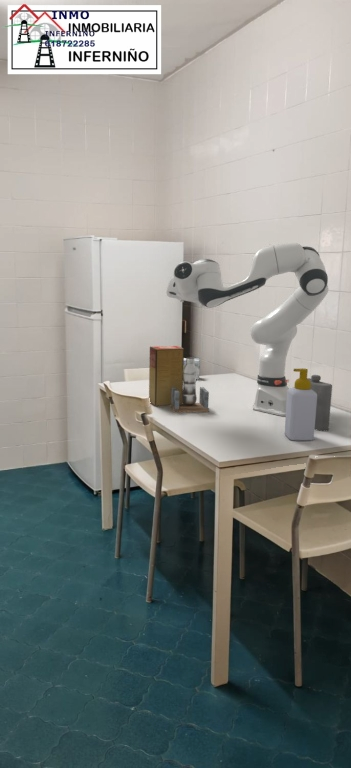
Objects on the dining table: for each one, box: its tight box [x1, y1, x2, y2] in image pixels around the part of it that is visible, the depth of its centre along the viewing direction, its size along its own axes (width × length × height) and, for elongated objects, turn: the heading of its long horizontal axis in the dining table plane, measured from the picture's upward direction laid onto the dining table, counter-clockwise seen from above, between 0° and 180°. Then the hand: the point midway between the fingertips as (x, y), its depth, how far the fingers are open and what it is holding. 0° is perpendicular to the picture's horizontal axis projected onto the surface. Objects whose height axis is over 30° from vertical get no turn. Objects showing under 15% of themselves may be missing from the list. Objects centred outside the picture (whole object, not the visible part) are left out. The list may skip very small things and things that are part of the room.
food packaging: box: [148, 345, 185, 407], centre depth 250 cm, size 13×9×25 cm
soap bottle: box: [284, 368, 317, 442], centre depth 204 cm, size 9×9×25 cm
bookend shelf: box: [169, 386, 210, 413], centre depth 242 cm, size 10×14×8 cm
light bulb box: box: [183, 357, 201, 381], centre depth 310 cm, size 11×7×11 cm, turn 84°
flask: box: [307, 374, 333, 432], centre depth 220 cm, size 15×6×20 cm, turn 25°
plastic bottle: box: [182, 357, 198, 405], centre depth 243 cm, size 6×7×20 cm
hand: (193, 302), depth 242 cm, fingers open, 8 cm apart
